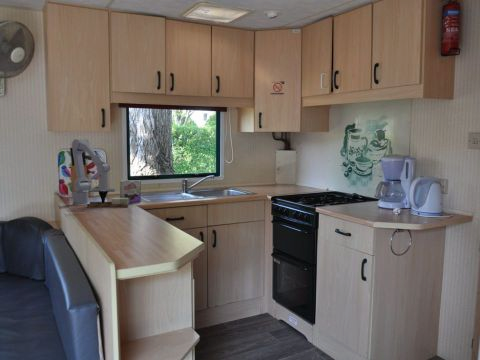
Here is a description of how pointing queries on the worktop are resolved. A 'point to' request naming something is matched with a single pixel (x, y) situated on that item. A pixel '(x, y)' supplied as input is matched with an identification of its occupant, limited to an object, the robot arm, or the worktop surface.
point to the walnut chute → (106, 204)
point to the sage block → (123, 200)
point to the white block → (115, 200)
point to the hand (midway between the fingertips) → (103, 202)
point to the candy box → (130, 190)
